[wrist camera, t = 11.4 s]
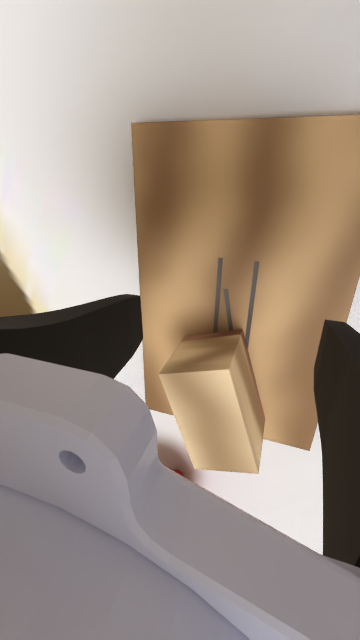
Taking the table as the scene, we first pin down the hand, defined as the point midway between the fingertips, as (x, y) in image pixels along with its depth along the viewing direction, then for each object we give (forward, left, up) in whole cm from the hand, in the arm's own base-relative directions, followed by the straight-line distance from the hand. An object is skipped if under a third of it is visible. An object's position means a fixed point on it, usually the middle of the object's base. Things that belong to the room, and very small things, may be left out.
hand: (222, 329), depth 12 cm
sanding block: (+1, +9, -9) cm, 12 cm away
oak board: (+1, +3, -10) cm, 10 cm away
